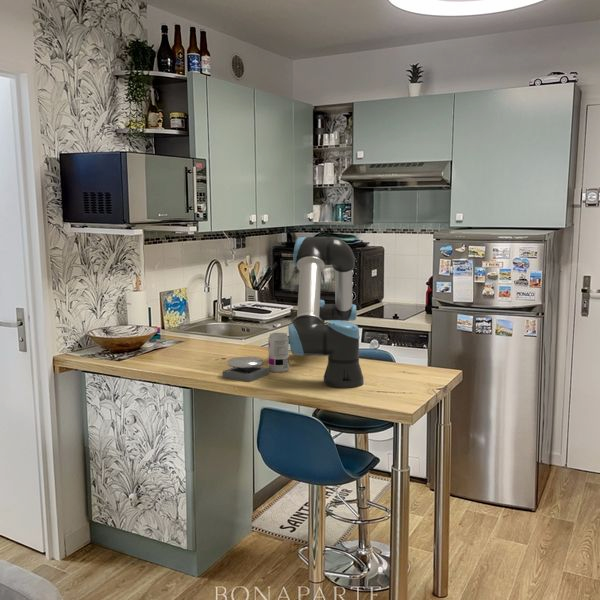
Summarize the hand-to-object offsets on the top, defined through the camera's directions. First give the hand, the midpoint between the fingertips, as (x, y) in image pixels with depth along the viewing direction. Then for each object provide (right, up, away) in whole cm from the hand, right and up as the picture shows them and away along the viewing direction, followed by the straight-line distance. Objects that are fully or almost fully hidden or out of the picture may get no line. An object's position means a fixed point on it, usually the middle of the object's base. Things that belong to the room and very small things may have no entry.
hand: (286, 346), depth 267 cm
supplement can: (-3, -9, -6) cm, 11 cm away
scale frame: (-16, -11, -15) cm, 24 cm away
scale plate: (-16, -8, -15) cm, 23 cm away
